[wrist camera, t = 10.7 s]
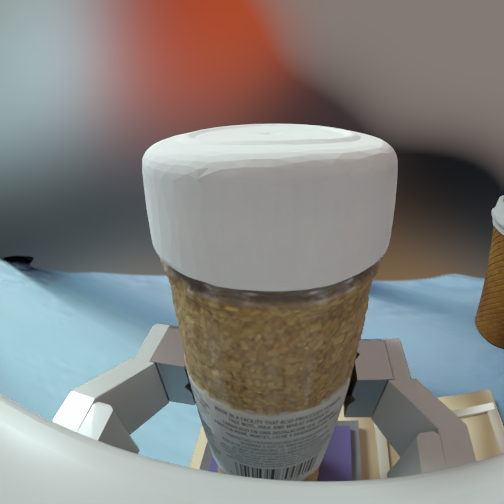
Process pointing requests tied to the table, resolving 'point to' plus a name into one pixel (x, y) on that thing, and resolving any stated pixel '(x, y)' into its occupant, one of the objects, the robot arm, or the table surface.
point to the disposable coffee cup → (494, 284)
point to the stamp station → (378, 448)
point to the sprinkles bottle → (270, 279)
